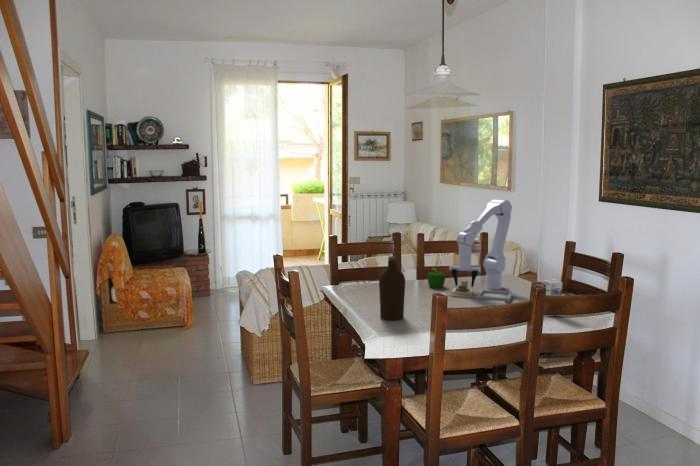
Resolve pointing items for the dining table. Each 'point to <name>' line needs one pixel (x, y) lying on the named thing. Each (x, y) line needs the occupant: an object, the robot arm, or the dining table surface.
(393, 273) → the olive oil
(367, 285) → the dining table surface
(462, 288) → the base
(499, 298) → the slate tray
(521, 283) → the dining table surface
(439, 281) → the bell pepper
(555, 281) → the syrup box
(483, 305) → the dining table surface
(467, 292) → the tan frame with tab
